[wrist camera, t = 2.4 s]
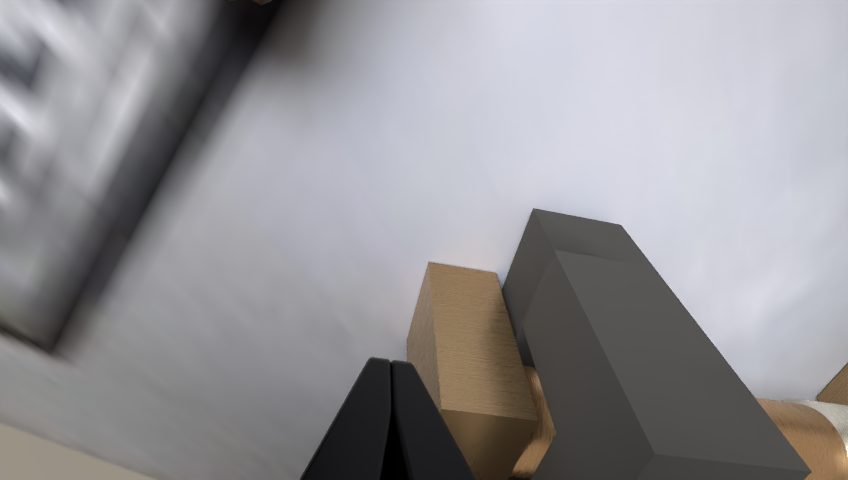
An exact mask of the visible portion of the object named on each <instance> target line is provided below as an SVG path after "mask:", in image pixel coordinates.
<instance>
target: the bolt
mask: <svg viewBox="0 0 848 480" xmlns="http://www.w3.org/2000/svg"><path fill="white" fill-rule="evenodd" d="M226 1H230V2H232V1H236V0H226ZM252 1H254V2H256V3H259V4H261V5H263V4H266V3H269V2H270V1H272V0H252Z"/></svg>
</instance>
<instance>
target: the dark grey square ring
mask: <svg viewBox="0 0 848 480" xmlns="http://www.w3.org/2000/svg"><path fill="white" fill-rule="evenodd" d="M501 292H502V295H503V299H504V302H505V306H506V309H507V313H508V316H509V320H510V323H511V327H512V330H513V333H514V337H515V340H516V344H517V347H518V351H519V354H520V358H521V361H522V365H523V366H529V367H535V368H536V371H537V374H538V377H539V381H540V384H541V387H542V390H543V393H544V396H545V399H546V403H547V406H548V409H549V412H550V415H551V418H552V422H553V425H554V428H555V431H556V435H555V437H554V438H553V440H552V442H551V444H550V446H549V447H548V449H547V451H546V453H545V455H544V456H543V458H542V460H541V462H540V464H539V465H538V467H537V469H536V471H535V472H534V474H533V476H532V478H531V479H528V478H518V477H509V478H508V480H804V479H805V478H806V477H807V476H808V475H809V474H810V473H811V472H812V471H811V470H810V468H809V467H808V466H807V465H806V463H805V462H804V461H803V459H802V458H801V457H800V455H799V454H798V453H797V452H796V450H795V449H794V448H793V446H792V445H791V444H790V443H789V441H788V440H787V439H786V437H785V436H784V435H783V434H782V432H781V431H780V430H779V428H778V427H777V426H776V424H775V423H774V422H773V421H772V419H771V418H770V417H769V415H768V414H767V413H766V412H765V410H764V409H763V408H762V406H761V405H760V404H759V403H758V401H757V400H756V399H755V397H754V396H753V395H752V394H751V392H750V391H749V390H748V388H747V387H746V386H745V384H744V383H743V382H742V381H741V379H740V378H739V377H738V375H737V374H736V373H735V372H734V370H733V369H732V368H731V366H730V365H729V364H728V363H727V361H726V360H725V359H724V357H723V356H722V355H721V353H720V352H719V351H718V350H717V348H716V347H715V346H714V344H713V343H712V342H711V341H710V339H709V338H708V337H707V335H706V334H705V333H704V332H703V330H702V329H701V328H700V326H699V325H698V324H697V323H696V321H695V320H694V319H693V317H692V316H691V315H690V313H689V312H688V311H687V310H686V308H685V307H684V306H683V304H682V303H681V302H680V301H679V299H678V298H677V297H676V295H675V294H674V293H673V292H672V290H671V289H670V288H669V286H668V285H667V284H666V282H665V281H664V280H663V279H662V277H661V276H660V275H659V273H658V272H657V271H656V270H655V268H654V267H653V266H652V264H651V263H650V262H649V261H648V259H647V258H646V257H645V255H644V254H643V253H642V251H641V250H640V249H639V248H638V246H637V245H636V244H635V242H634V241H633V240H632V239H631V237H630V236H629V235H628V233H627V232H626V231H625V230H624V228H623V227H622V226H621V225H619V224H613V223H608V222H603V221H597V220H592V219H587V218H582V217H576V216H571V215H566V214H560V213H555V212H550V211H545V210H539V209H534V208H533V210H532V213H531V216H530V218H529V221H528V223H527V226H526V229H525V231H524V234H523V237H522V239H521V242H520V244H519V247H518V250H517V252H516V255H515V257H514V260H513V263H512V265H511V268H510V270H509V273H508V276H507V278H506V281H505V283H504V286H503V289H502V291H501Z"/></svg>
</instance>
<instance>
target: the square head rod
mask: <svg viewBox="0 0 848 480" xmlns="http://www.w3.org/2000/svg"><path fill="white" fill-rule="evenodd" d="M407 362H411V363H412V364H413V365H414V367H415V368H416V370H417V372H418V374H419V376H420V378H421V379H422V381H423V383H424V385H425V387H426V389H427V390H428V392H429V394H430V396H431V398H432V400H433V401H434V403H435V405H436V407H437V409H438V411H439V412H440V414H441V416H442V418H443V420H444V422H445V423H446V425H447V427H448V429H449V431H450V433H451V434H452V436H453V438H454V440H455V442H456V443H457V445H458V447H459V449H460V451H461V453H462V454H463V456H464V458H465V460H466V462H467V464H468V465H469V467H470V469H471V471H472V473H473V475H474V476H475V478H476V480H508V478H509V477H518V478H528V479H531V478H532V476H533V474H534V472H535V471H536V469H537V467H538V465H539V464H540V462H541V460H542V458H543V456H544V455H545V453H546V451H547V449H548V447H549V446H550V444H551V442H552V440H553V438H554V437H555V435H556V431H555V428H554V425H553V422H552V418H551V415H550V412H549V409H548V406H547V403H546V399H545V396H544V393H543V390H542V387H541V384H540V381H539V377H538V374H537V371H536V368H535V367H529V366H523V365H522V361H521V358H520V354H519V351H518V347H517V344H516V340H515V337H514V333H513V330H512V327H511V323H510V320H509V316H508V313H507V309H506V306H505V302H504V299H503V295H502V292H501V288H500V285H499V281H498V278H497V274H496V273H492V272H486V271H480V270H474V269H468V268H462V267H456V266H450V265H444V264H438V263H432V262H428V266H427V269H426V273H425V277H424V280H423V284H422V287H421V291H420V295H419V298H418V302H417V305H416V309H415V313H414V316H413V320H412V323H411V327H410V331H409V334H408V338H407ZM755 399H756V400H757V401H758V403H759V404H760V405H761V406H762V408H763V409H764V410H765V412H766V413H767V414H768V415H769V417H770V418H771V419H772V421H773V422H774V423H775V424H776V426H777V427H778V428H779V430H780V431H781V432H782V434H783V435H784V436H785V437H786V439H787V440H788V441H789V443H790V444H791V445H792V446H793V448H794V449H795V450H796V452H797V453H798V454H799V455H800V457H801V458H802V459H803V461H804V462H805V463H806V465H807V466H808V467H809V468H810V470H811V471H812V472H811V473H810V474H809V475H808V476H807V477H806V478H805V479H804V480H848V364H847V365H846V366H845V367H844V368H843V370H842V371H841V372H840V373H839V374H838V375H837V376H836V377H835V378H834V379H833V380H832V381H831V383H830V384H829V385H828V386H827V387H826V388H825V389H824V390H823V391H822V392H821V393H820V394H819V396H818V397H817V399H818V400H819V401H820V402H818V401H811V400H804V399H794V398H791V399H785V400H781V401H776V400H769V399H762V398H755Z"/></svg>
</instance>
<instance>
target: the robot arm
mask: <svg viewBox="0 0 848 480" xmlns="http://www.w3.org/2000/svg"><path fill="white" fill-rule="evenodd" d="M300 480H476V478H475V476H474V475H473V473H472V471H471V469H470V467H469V465H468V464H467V462H466V460H465V458H464V456H463V454H462V453H461V451H460V449H459V447H458V445H457V443H456V442H455V440H454V438H453V436H452V434H451V433H450V431H449V429H448V427H447V425H446V423H445V422H444V420H443V418H442V416H441V414H440V412H439V411H438V409H437V407H436V405H435V403H434V401H433V400H432V398H431V396H430V394H429V392H428V390H427V389H426V387H425V385H424V383H423V381H422V379H421V378H420V376H419V374H418V372H417V370H416V368H415V367H414V365H413V364H412V363H411V362H406V361H398V360H393V361H392V362H390V360H388V359H383V358H375V357H371V358H369V359H368V361H367V363H366V364H365V366H364V368H363V370H362V371H361V373H360V375H359V377H358V378H357V380H356V382H355V384H354V385H353V387H352V389H351V391H350V392H349V394H348V396H347V398H346V399H345V401H344V403H343V405H342V406H341V408H340V410H339V412H338V413H337V415H336V417H335V419H334V420H333V422H332V424H331V426H330V427H329V429H328V431H327V433H326V434H325V436H324V438H323V440H322V441H321V443H320V445H319V447H318V448H317V450H316V452H315V454H314V455H313V457H312V459H311V461H310V462H309V464H308V466H307V468H306V469H305V471H304V473H303V475H302V476H301V478H300Z"/></svg>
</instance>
